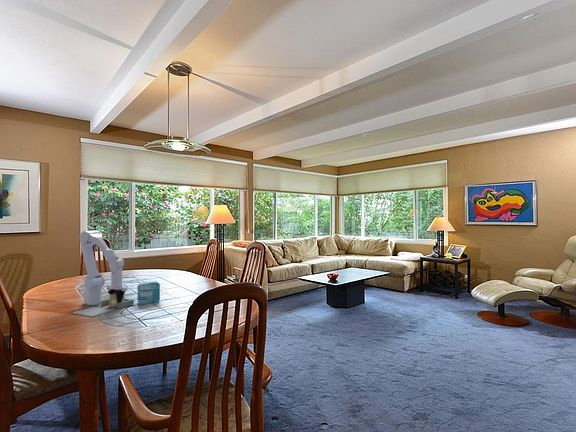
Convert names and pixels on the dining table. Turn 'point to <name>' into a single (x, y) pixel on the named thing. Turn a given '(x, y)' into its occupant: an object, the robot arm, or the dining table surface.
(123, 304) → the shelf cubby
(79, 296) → the dining table surface
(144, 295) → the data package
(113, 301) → the block
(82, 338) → the dining table surface
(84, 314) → the rubber mat
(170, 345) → the dining table surface
